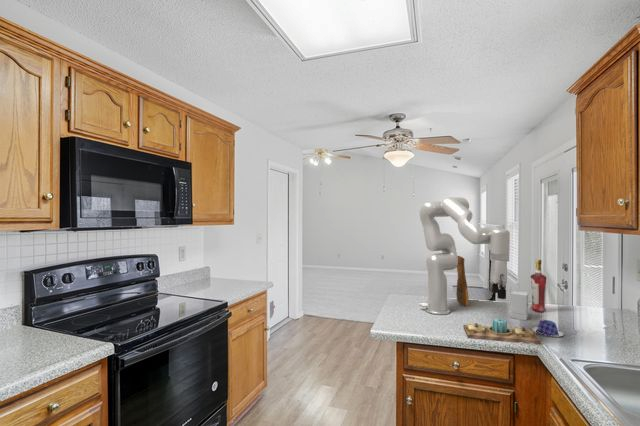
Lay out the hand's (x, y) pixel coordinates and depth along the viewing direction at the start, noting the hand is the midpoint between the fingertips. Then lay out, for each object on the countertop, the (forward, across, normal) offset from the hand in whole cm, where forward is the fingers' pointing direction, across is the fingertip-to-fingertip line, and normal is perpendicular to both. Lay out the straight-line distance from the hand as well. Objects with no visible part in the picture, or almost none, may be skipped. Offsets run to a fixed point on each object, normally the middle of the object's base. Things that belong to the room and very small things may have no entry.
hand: (498, 295), depth 151 cm
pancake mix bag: (+19, -51, -9) cm, 55 cm away
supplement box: (+18, -29, +16) cm, 38 cm away
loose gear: (+16, 0, 0) cm, 16 cm away
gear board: (+18, +1, 0) cm, 18 cm away
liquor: (+18, -43, +29) cm, 55 cm away
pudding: (+18, -9, +22) cm, 30 cm away
